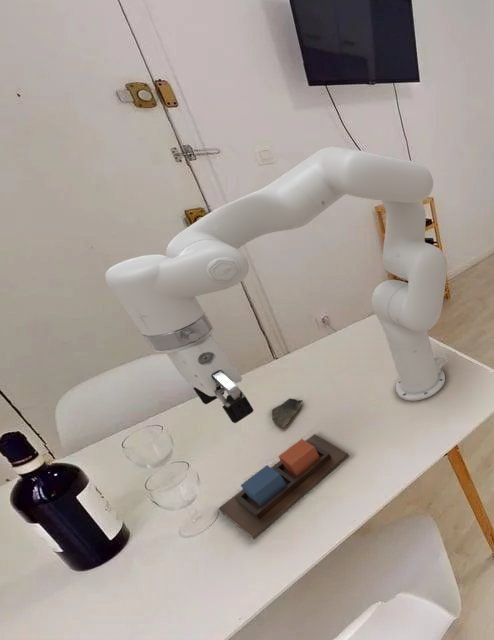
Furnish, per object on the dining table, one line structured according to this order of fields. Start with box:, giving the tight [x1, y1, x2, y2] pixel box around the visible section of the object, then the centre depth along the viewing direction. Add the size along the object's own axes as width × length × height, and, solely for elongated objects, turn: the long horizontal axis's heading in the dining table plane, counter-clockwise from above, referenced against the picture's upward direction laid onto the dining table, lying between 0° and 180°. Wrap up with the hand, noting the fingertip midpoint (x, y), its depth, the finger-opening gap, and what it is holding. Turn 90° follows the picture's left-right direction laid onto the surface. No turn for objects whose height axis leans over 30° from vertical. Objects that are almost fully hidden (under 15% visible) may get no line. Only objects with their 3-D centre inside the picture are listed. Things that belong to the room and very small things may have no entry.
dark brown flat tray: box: [218, 433, 350, 540], centre depth 86 cm, size 20×12×2 cm, turn 152°
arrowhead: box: [271, 397, 303, 429], centre depth 102 cm, size 7×10×1 cm
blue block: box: [240, 464, 287, 507], centre depth 82 cm, size 5×5×4 cm
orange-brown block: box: [278, 438, 320, 477], centre depth 87 cm, size 5×5×4 cm
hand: (228, 407), depth 73 cm, fingers open, 9 cm apart
